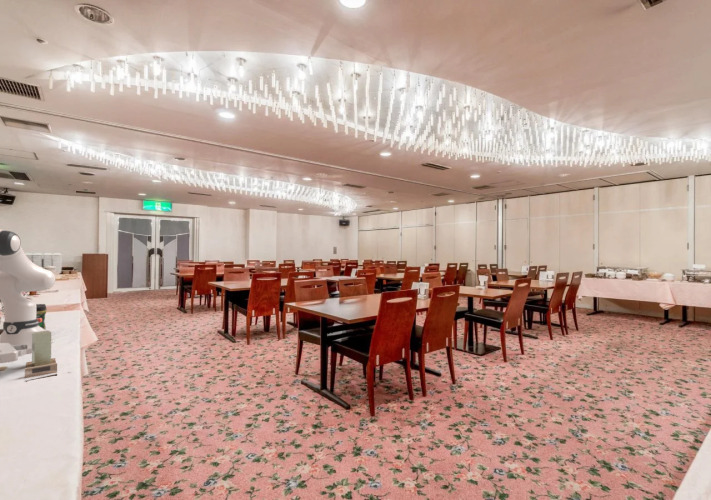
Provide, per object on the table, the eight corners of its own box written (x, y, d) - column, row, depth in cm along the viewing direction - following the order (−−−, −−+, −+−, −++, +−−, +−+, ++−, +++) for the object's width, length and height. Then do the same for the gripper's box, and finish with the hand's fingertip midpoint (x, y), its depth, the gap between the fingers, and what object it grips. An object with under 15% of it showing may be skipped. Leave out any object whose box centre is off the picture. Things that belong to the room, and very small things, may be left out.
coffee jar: (20, 340, 182) (21, 306, 182) (23, 337, 188) (24, 304, 188) (45, 338, 187) (45, 304, 188) (47, 335, 194) (47, 302, 194)
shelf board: (26, 365, 142) (26, 355, 142) (55, 360, 148) (55, 351, 148) (24, 381, 124) (24, 369, 124) (57, 375, 131) (57, 364, 131)
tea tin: (34, 366, 137) (34, 334, 137) (31, 364, 140) (32, 332, 140) (51, 363, 141) (51, 331, 141) (48, 361, 144) (48, 330, 144)
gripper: (-18, 353, 120) (35, 345, 131) (-25, 343, 133) (24, 336, 144) (-18, 371, 120) (35, 361, 131) (-25, 360, 133) (24, 351, 144)
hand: (29, 348), depth 138 cm, fingers open, 8 cm apart
